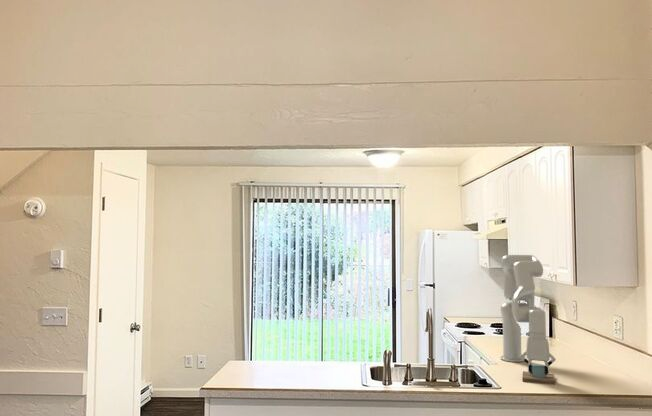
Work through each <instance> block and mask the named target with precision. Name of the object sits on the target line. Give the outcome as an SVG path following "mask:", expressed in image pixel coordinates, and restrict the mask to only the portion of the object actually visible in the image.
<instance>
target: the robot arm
mask: <svg viewBox="0 0 652 416" xmlns="http://www.w3.org/2000/svg"><path fill="white" fill-rule="evenodd" d="M500 263H501V269H502V271H503V275H504V277H503V278H504V280H503V281H504V282H503V283H504V284H503V296H504V298H505V300H508V301H511V302H508V301H507V302H504V303H503V304H501V306H500V313H501V320H502V340H503V341H502V348H503V349H502V350H503V351H502V352H503V355H501V356H500V360H502V361H505V362H512V363H522V362H525V364H526V365H527V367H528V370H527V372H530V374H532V367H531V365H532V362H533V361H534V362H535V361H536V362H544V365H545V375H546V376H547V374H549V367H550V366H551V365H552V364H553V363H554V362H556V357H554V356H553V354H551V352H550V343H549V340H548V338H547V330H546V329H547V328H546V327H547V322H546V321H547V320H546V312H545V311H544V310H543V309H542V308H541V307H535V289H536V285H535V281H534V278H541V277H542V276H543V275H544V267H543V263H541V261H540V260H539V259H538V258H537V257H536V256H535V255H532V254H506V255H503V256H502V258H501V262H500ZM521 301H522V302H521ZM523 301H524V302H523ZM519 323H528V331H527V332H525V336H528V337H527V339H526V346H525V347H526V351H525V352H523V353H522V327H521V326H520V324H519Z"/></svg>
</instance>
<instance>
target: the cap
mask: <svg viewBox="0 0 652 416" xmlns="http://www.w3.org/2000/svg"><path fill="white" fill-rule="evenodd" d="M531 367H532V376H533V377H537V378H545V364H542V363H541V364H540V363H531Z"/></svg>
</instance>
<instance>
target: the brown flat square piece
mask: <svg viewBox="0 0 652 416" xmlns="http://www.w3.org/2000/svg"><path fill="white" fill-rule="evenodd" d="M521 378H522V382H523V383H524V382H525V383H535V384H542V385H543V384H544V385H554V386H555V385H556V378H555V374H554V373H547V376H546V375H545V378H537V377H533V376H532V374H530V372H528V371H522V377H521Z"/></svg>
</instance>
